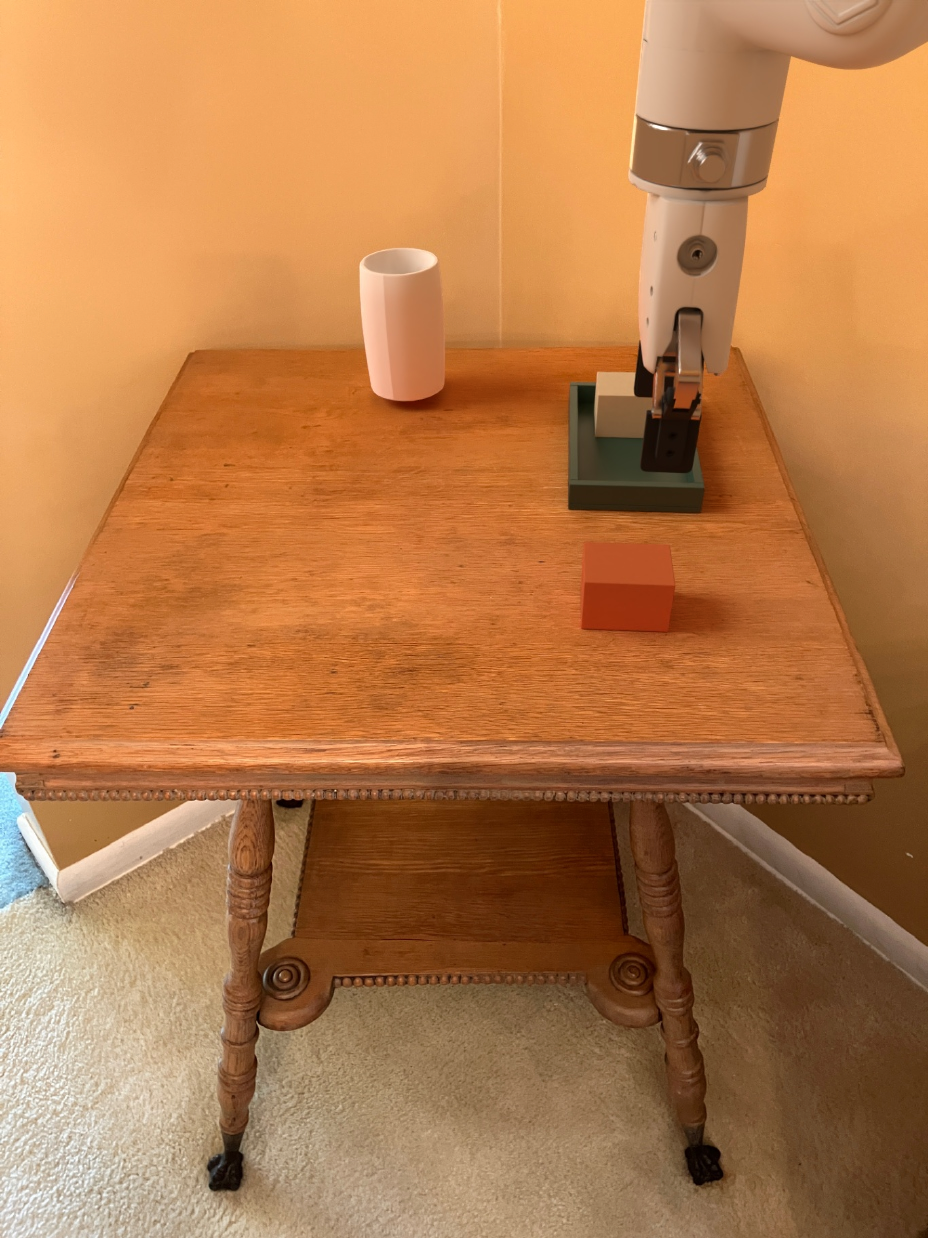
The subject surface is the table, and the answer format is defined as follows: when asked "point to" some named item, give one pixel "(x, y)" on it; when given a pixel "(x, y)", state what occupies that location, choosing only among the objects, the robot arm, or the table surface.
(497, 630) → the table surface
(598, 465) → the tray
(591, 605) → the orange-red block
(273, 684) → the table surface
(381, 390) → the cup
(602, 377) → the cream white rectangular block
